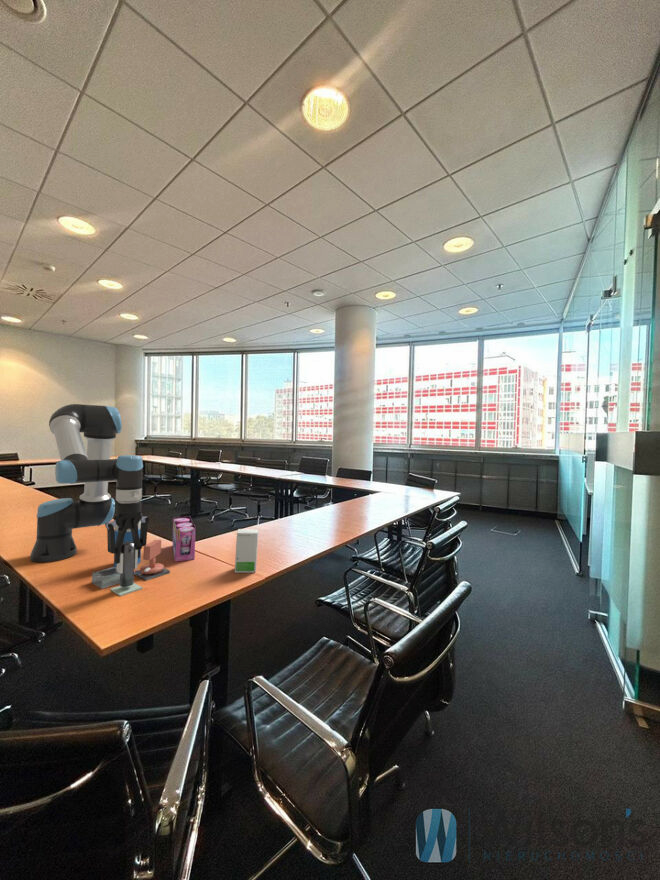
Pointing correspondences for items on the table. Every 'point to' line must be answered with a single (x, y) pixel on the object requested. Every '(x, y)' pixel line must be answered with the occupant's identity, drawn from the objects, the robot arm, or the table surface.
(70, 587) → the table surface
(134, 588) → the mat
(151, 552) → the pink block-head stand
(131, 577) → the hook peg
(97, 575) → the block
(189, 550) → the gum box
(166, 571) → the wheel base
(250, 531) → the skincare box
